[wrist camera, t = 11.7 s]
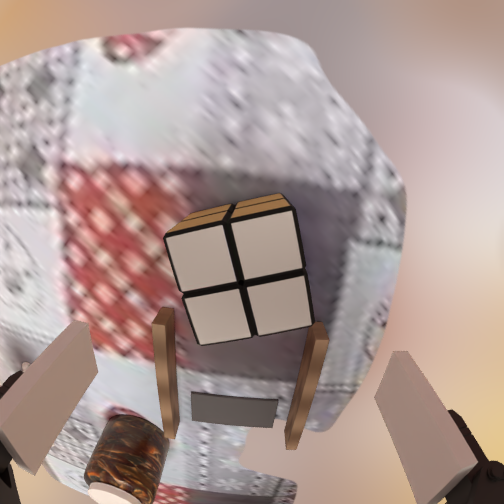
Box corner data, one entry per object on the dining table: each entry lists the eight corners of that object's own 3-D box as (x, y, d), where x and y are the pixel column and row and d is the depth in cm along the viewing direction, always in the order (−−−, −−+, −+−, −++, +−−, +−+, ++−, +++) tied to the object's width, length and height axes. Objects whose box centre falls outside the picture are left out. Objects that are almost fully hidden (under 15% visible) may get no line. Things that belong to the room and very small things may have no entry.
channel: (293, 430, 40) (296, 449, 36) (170, 419, 40) (164, 437, 36) (322, 322, 34) (329, 339, 31) (161, 307, 34) (151, 323, 30)
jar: (96, 411, 40) (62, 474, 26) (156, 415, 40) (130, 491, 25) (123, 452, 44) (100, 511, 29) (179, 457, 43) (163, 524, 29)
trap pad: (272, 426, 40) (272, 427, 39) (192, 418, 40) (192, 420, 39) (278, 399, 38) (278, 401, 38) (191, 391, 38) (190, 393, 38)
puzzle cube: (300, 281, 33) (316, 327, 24) (212, 299, 34) (197, 348, 24) (282, 192, 30) (295, 204, 21) (188, 213, 31) (160, 235, 22)
